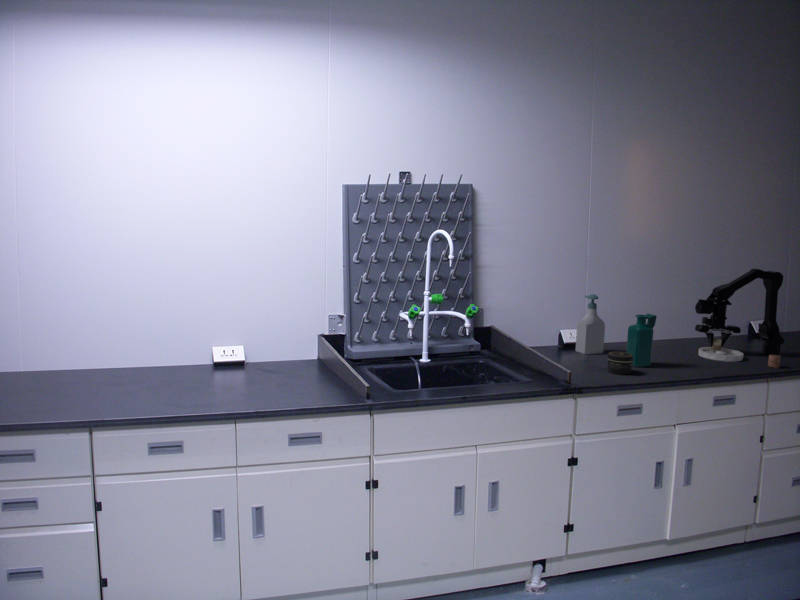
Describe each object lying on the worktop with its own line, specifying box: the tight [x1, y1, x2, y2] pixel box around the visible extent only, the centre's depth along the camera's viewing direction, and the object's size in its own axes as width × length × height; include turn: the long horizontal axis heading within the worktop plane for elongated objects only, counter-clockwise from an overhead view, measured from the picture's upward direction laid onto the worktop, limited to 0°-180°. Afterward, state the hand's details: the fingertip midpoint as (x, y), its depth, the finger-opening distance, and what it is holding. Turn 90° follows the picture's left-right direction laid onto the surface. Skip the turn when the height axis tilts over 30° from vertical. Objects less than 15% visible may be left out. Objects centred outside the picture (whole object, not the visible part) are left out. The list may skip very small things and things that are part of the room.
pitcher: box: [625, 313, 657, 368], centre depth 270 cm, size 10×8×22 cm
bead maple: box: [711, 337, 722, 350], centre depth 295 cm, size 4×4×5 cm
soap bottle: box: [575, 293, 606, 355], centre depth 293 cm, size 11×8×27 cm
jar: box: [606, 351, 633, 376], centre depth 258 cm, size 10×10×8 cm
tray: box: [697, 346, 745, 363], centre depth 290 cm, size 18×18×3 cm
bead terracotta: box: [767, 355, 782, 369], centre depth 273 cm, size 4×4×5 cm
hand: (716, 346), depth 295 cm, fingers closed on bead maple, 4 cm apart
